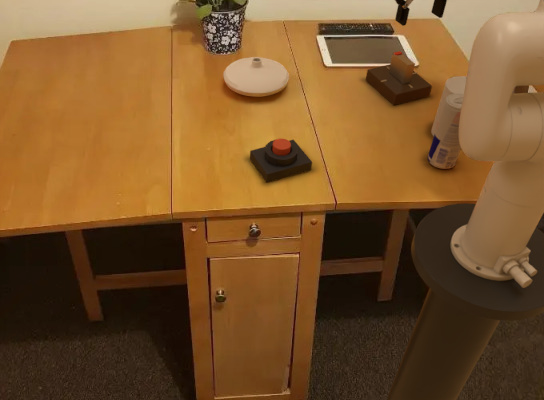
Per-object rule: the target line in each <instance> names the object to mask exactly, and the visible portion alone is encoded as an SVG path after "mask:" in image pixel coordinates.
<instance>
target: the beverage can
mask: <svg viewBox="0 0 544 400" xmlns="http://www.w3.org/2000/svg"><path fill="white" fill-rule="evenodd" d="M463 96H464V94H460V93H454V94H450V95H448V96H447V97H446V100H445V102H444V105H443V109H442V112H441V115H440V118H439V121H438V125H437V128H436V131H435V134H434V137H433V138H432V141H431V143H430V144H431V145H430V148H429V151H428V154H427V161H428V163H429V164H430V165H432V166H433V167H435V168H437V169H442V170H449V169H452V168H454V167H455V166H456V164H457V162H458V158H459V155H460V152H461V151H462V149H461V147H460V143H459V120H460V114H461V107H462V102H463Z"/></svg>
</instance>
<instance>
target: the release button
mask: <svg viewBox="0 0 544 400" xmlns="http://www.w3.org/2000/svg"><path fill="white" fill-rule="evenodd" d="M274 140H275V141H274V142H273V148H272V151H273V153H274V154H276V155H279V156H285V155H288V154H289V153H290V149H291V143H290V141H289V140H288V139H287V138H277V139H274Z"/></svg>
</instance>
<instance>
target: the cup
mask: <svg viewBox="0 0 544 400" xmlns="http://www.w3.org/2000/svg"><path fill="white" fill-rule="evenodd" d="M466 78H467V75H466V76H465V75H457V76H455V75H454V76H452V77H449V78H447V80H446V81H445V84H444V88H443V90H442V93H441V97H440V100H439V103H438V106H437V110H436V113H435V116H434V120H433V123H432V127H431V129H430V133H431V136H432V137H433V138H434V134H435V131H436V128H437V125H438V121H439V118H440V115H441V112H442V109H443V105H444V102H445V100H446V97H447V96H448V95H450V94H454V93H460V94H464V90H465V84H466Z"/></svg>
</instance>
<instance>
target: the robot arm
mask: <svg viewBox="0 0 544 400" xmlns="http://www.w3.org/2000/svg"><path fill="white" fill-rule="evenodd" d="M413 1H414V0H394V2H395V4H397V9H396V12H395V13H396V14H395V19H394V20H395V21H396V22H397V23H398V24H399V25H401V26H402V27H405V26H406V25H407V23H408V18H409V13H410V7H409V6H410V5H411V4H412V3H413ZM447 2H448V0H433V3H432V7H431V14H433V15H435V16H436V17H437V18H438V19H441V18H443V17H444V13H445V9H446V6H447ZM467 66H468V68H467V73H466V77H467V78H466V84H465V90H464V96H463V102H462V107H461V114H460V120H459V143H460V147H461V151H462V152H463V154H464V155H465V156H466V157H468V159H471V160H473V161H476V162H477V161H479V162H487V163H488V162H489V163H490V162H493V164H492V165H491V167H490V169H489V172H488V174H487V176H486V178H485V181H484V183H483V185H482V188H481V189H480V193H479V196H478V197H477V201H476V203H475V204H476V205H475V208H474V210H473V212H472V215H471V217H470V220H469V222H468V224H467V225H464V226H462V227H460V228H459V229H457V230H456V231H455V233H454V234H453V236H452V239H451V242H450V247H451V251H452V254H453V256H454V257H455V259H456V260H457V261H458V263H459V264H460V265H462V266H463V267H464V268H465V269H467V270H468V271H469V272H471V273H473V274H475V275H477V276H480V277H482V278H485V279H490V280H497V281H505V280H511V279H515V281H516V282H517V283H518V284H519V285H520V286H521V287H522V288H525V287H527V286H529V285H530V284H531V283H532V279H531V278H530V277H529V276H528V275H527V274H526V273H525V272H524V271H526V272H527V273H528V274H529V275H530V276H531V277H532V276H534V275H535V274H536V273H537V270H536V269H535V268H534V267H533V266H532V265H530V264H529V263H528V261H529V257H528V255H529V253H530V252H531V251H530V250H529V249H528V248H527V247H526V245H527V243H528V241H529V239H530V238H531V236H532V234H533V232H534V230H535V228H537V226H538V224H539V222H540V220H541V218H542V217H543V215H544V92H543V91H541V92H540V91H539V92H538V91H537V92H521V93H519V92H518V93H516V92H515V93H514V91H515V88H516V87H523V86H524V87H527V86H528V87H529V86H544V0H539V2H538V5H537V8H536V9H535V10H534V11H524V12H523V11H515V12H514V11H513V12H504V13H498V14H496V15H494V16H492V17H490V18H488V19H487V20H485V22H484V23H483V24H482V25H481V27H480V28H479V30H478V32H477V33H476V36H475V38H474V40H473V42H472V47H471V52H470V56H469V62H468V65H467Z"/></svg>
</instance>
